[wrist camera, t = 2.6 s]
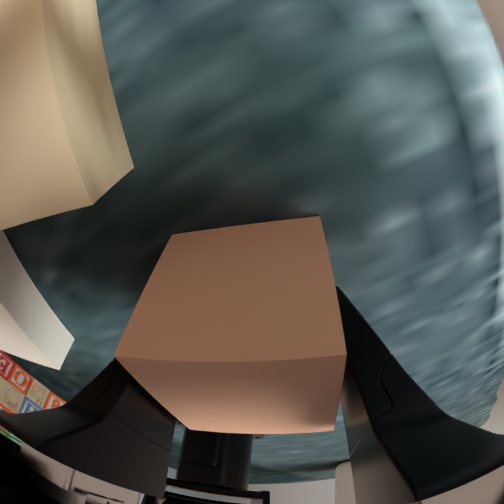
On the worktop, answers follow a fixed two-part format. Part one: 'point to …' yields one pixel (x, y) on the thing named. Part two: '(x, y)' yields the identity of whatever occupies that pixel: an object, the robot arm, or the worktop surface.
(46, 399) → the stack of blocks
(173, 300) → the terracotta cube
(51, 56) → the birch slab
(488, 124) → the worktop surface
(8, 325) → the white plastic slab
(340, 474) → the wine bottle
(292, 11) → the worktop surface
